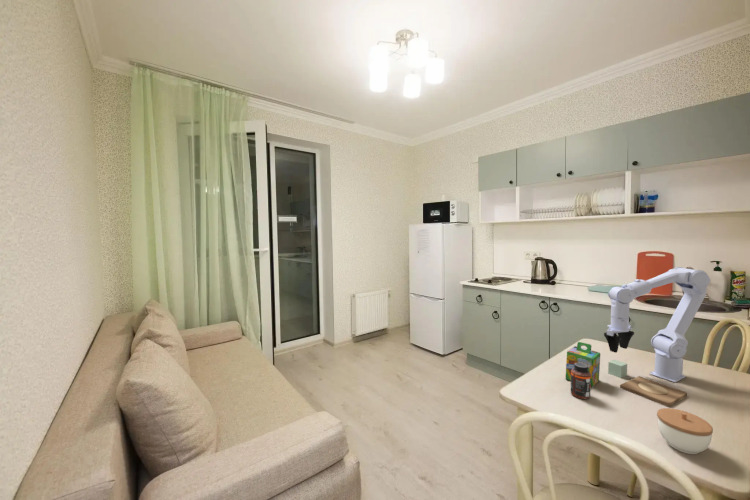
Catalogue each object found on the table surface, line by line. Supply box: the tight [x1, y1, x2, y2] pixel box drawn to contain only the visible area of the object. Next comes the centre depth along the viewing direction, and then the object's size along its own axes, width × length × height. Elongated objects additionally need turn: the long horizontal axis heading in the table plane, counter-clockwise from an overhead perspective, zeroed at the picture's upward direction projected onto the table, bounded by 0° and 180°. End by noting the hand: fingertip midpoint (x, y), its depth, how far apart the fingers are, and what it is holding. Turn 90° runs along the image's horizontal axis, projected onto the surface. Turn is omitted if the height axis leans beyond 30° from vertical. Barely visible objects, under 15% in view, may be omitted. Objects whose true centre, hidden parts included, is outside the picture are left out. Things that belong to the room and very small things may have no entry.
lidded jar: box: [656, 407, 714, 455], centre depth 84 cm, size 11×11×9 cm
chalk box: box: [565, 341, 601, 389], centre depth 120 cm, size 9×9×15 cm
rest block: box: [607, 359, 628, 379], centre depth 124 cm, size 4×4×5 cm
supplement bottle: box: [570, 363, 592, 400], centre depth 110 cm, size 6×6×11 cm
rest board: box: [619, 375, 688, 408], centre depth 111 cm, size 14×14×1 cm
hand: (618, 349), depth 124 cm, fingers open, 7 cm apart
